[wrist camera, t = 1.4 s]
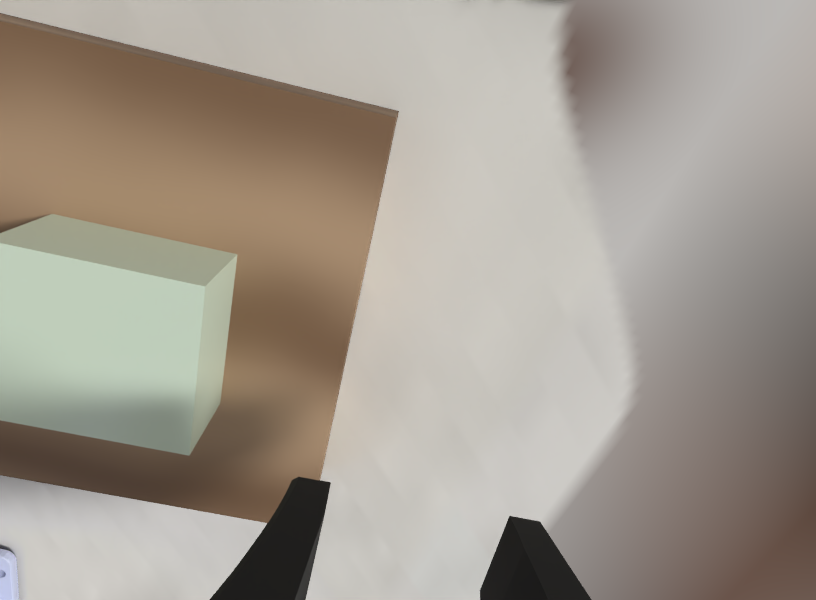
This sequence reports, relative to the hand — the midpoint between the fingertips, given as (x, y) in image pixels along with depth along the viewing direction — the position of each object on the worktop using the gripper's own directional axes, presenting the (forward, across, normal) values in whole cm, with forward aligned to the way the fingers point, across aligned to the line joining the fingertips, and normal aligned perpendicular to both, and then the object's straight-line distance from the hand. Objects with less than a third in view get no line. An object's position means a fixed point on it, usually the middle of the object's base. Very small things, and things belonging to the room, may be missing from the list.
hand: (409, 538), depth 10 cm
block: (+6, +8, 0) cm, 10 cm away
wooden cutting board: (+9, +9, 0) cm, 13 cm away
